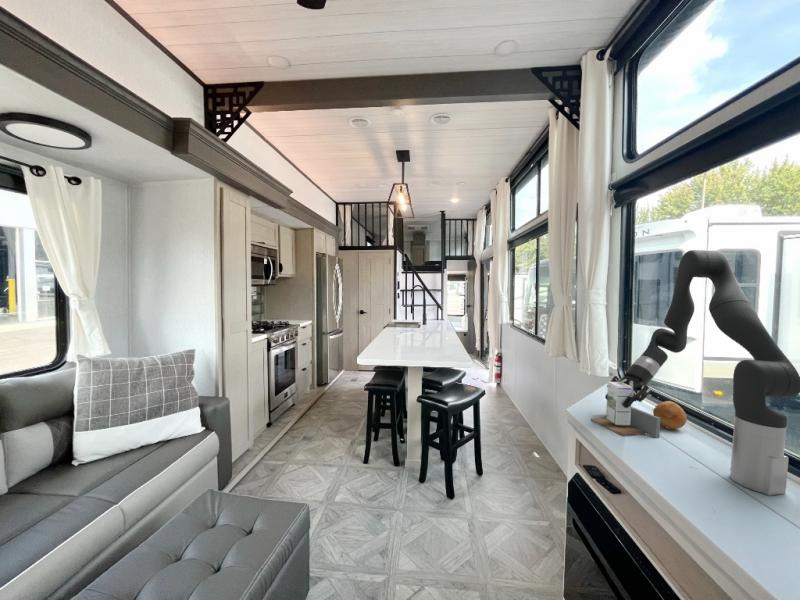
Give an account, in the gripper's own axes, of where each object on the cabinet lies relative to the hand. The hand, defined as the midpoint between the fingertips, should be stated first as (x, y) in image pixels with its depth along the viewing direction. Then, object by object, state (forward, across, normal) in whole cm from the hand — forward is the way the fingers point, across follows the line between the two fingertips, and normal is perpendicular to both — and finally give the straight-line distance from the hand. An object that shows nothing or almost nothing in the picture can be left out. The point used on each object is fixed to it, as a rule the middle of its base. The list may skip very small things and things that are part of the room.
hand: (615, 402), depth 121 cm
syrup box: (+4, 0, +6) cm, 8 cm away
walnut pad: (+6, 0, +8) cm, 9 cm away
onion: (-8, +4, +22) cm, 24 cm away
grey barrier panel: (+1, 0, +12) cm, 12 cm away
